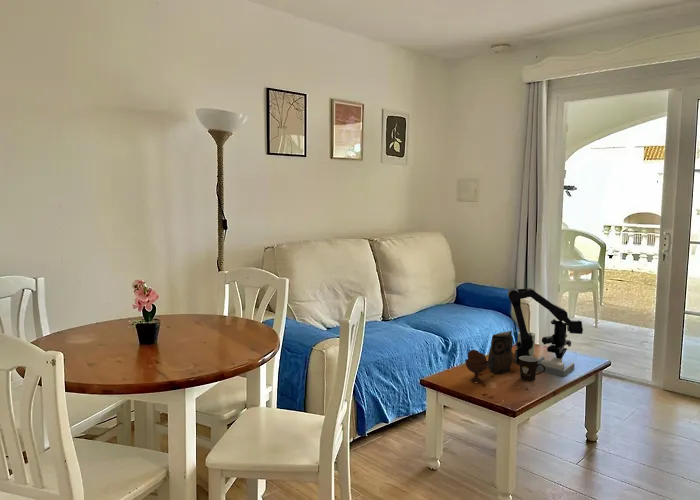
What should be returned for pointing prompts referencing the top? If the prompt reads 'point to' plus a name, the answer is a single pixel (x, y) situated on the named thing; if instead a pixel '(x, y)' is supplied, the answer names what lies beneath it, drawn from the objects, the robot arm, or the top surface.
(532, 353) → the can
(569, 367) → the bay
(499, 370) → the owl
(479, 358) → the ice cream bowl
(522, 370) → the coffee mug
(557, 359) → the t block
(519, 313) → the robot arm
